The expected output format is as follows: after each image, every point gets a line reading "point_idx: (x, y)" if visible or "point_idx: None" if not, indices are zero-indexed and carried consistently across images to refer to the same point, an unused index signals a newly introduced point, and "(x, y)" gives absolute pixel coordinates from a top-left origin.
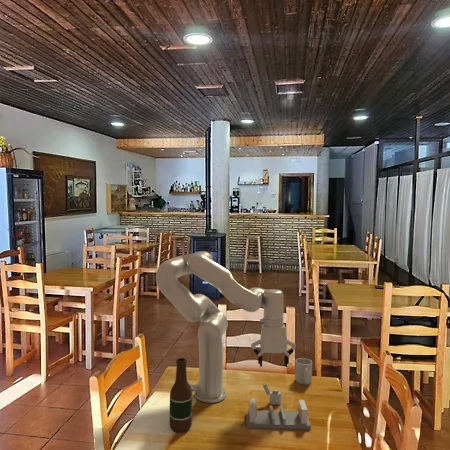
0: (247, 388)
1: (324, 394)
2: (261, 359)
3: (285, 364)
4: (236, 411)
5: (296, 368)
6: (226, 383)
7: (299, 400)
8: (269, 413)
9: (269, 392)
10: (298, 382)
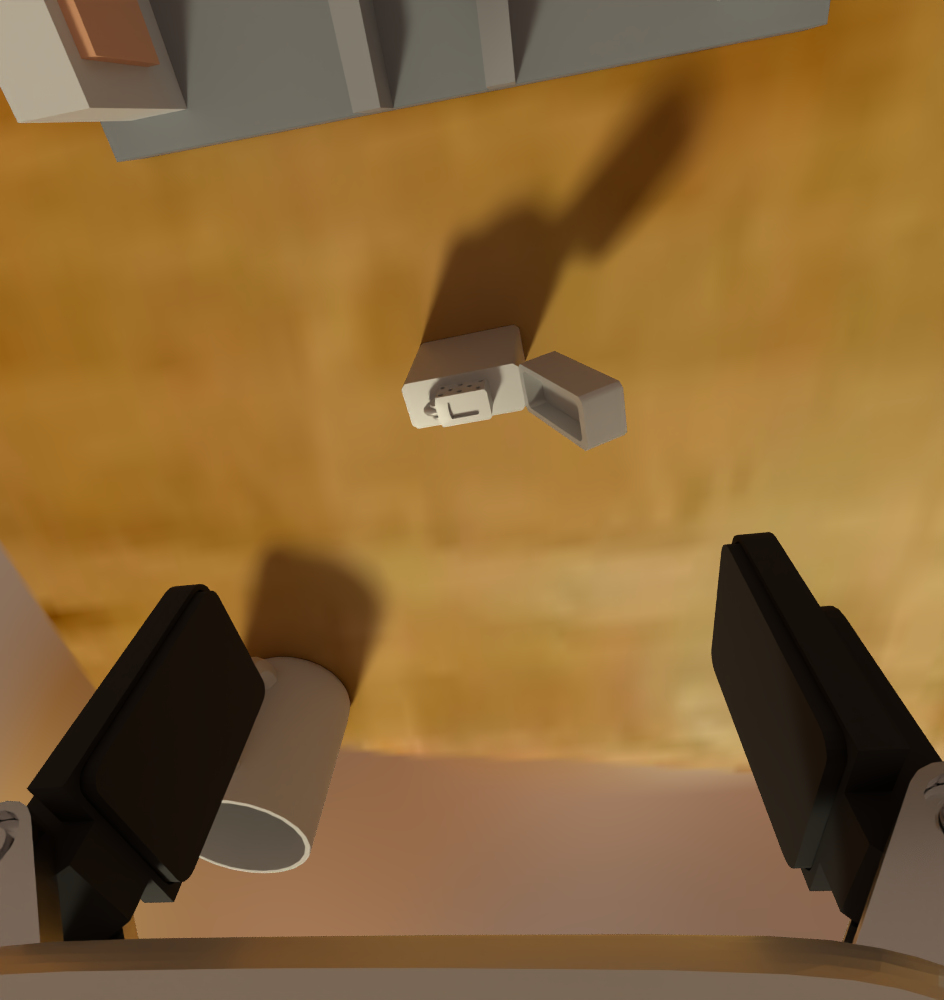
0: (715, 561)
1: (110, 554)
2: (823, 676)
3: (185, 621)
4: (918, 81)
5: (311, 771)
6: (891, 610)
7: (70, 83)
8: (519, 1)
9: (528, 366)
10: (320, 670)
